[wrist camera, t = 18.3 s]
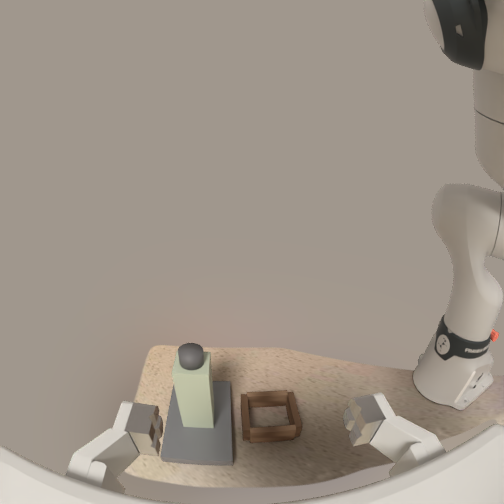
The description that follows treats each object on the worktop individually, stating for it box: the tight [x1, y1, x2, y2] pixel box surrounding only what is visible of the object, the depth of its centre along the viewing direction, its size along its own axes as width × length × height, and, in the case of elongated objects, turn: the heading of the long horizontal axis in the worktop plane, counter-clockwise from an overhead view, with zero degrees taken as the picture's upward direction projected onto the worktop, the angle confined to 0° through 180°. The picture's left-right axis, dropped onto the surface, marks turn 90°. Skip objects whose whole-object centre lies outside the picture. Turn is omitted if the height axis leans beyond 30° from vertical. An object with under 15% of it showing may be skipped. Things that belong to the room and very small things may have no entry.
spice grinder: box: [172, 343, 214, 428], centre depth 34 cm, size 5×5×14 cm
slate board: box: [161, 381, 233, 465], centre depth 37 cm, size 10×17×2 cm, turn 4°
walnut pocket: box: [241, 390, 302, 443], centre depth 38 cm, size 9×9×3 cm
